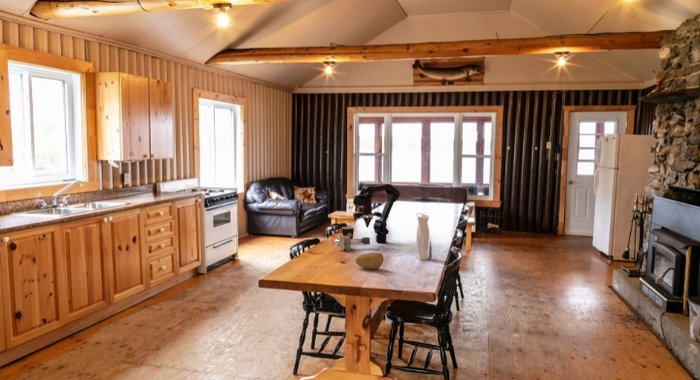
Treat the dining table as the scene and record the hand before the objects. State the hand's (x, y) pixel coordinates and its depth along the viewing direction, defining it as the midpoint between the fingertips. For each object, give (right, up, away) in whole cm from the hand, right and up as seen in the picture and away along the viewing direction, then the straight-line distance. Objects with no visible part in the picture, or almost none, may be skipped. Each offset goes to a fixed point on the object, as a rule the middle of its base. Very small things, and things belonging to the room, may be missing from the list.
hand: (367, 227), depth 315 cm
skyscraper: (+32, -16, -37) cm, 52 cm away
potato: (-1, -18, -60) cm, 62 cm away
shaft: (-10, -10, -12) cm, 19 cm away
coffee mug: (-15, -11, +11) cm, 21 cm away
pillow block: (-14, -13, -12) cm, 23 cm away
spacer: (-18, -13, -13) cm, 26 cm away
